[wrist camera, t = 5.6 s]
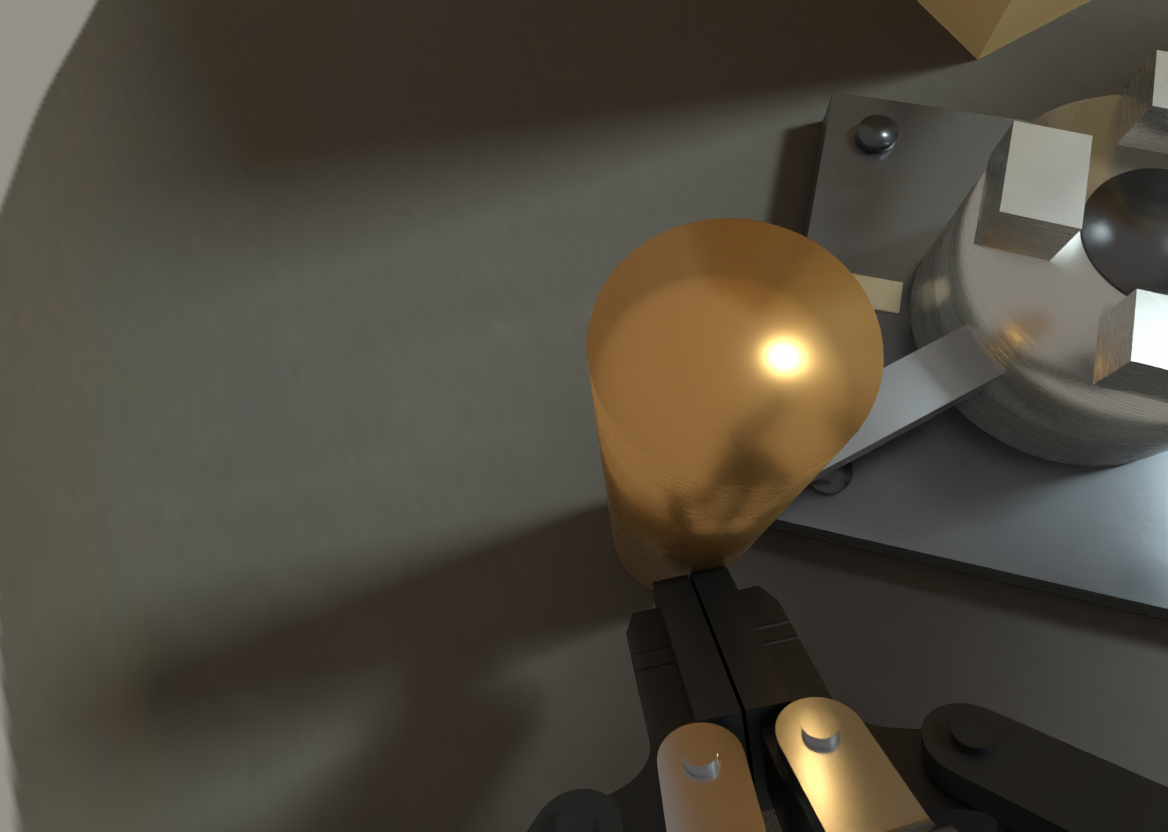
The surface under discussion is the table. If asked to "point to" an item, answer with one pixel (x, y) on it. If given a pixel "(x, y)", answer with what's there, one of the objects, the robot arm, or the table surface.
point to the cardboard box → (995, 19)
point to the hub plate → (950, 440)
